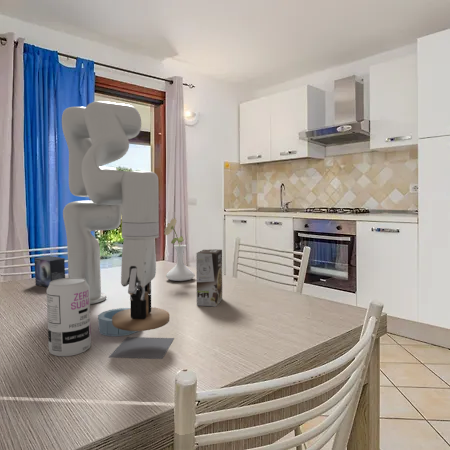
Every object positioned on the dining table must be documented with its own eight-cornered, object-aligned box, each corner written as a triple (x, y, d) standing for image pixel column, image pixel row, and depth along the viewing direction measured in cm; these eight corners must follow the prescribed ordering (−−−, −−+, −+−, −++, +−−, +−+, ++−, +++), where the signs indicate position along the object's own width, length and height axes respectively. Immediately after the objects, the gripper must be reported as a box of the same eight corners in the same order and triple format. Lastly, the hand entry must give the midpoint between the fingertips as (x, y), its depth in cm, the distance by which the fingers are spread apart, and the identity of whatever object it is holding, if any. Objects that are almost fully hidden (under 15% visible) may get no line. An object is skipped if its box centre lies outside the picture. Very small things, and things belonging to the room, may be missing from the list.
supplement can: (57, 344, 83) (54, 277, 82) (95, 342, 83) (93, 276, 82) (42, 359, 75) (39, 286, 74) (84, 358, 75) (82, 284, 74)
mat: (108, 359, 75) (108, 357, 75) (127, 338, 86) (127, 337, 86) (162, 360, 74) (162, 358, 74) (174, 339, 85) (174, 338, 85)
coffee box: (216, 307, 111) (216, 253, 110) (196, 305, 112) (195, 252, 111) (223, 299, 120) (222, 249, 119) (203, 298, 121) (203, 248, 120)
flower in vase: (179, 275, 157) (178, 216, 155) (200, 279, 150) (200, 217, 148) (156, 281, 146) (155, 217, 144) (178, 285, 139) (177, 218, 138)
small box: (34, 285, 141) (32, 257, 140) (50, 282, 146) (49, 255, 146) (50, 288, 135) (49, 260, 134) (66, 285, 140) (65, 257, 140)
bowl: (91, 337, 87) (91, 320, 87) (108, 322, 97) (108, 307, 97) (134, 338, 86) (133, 321, 86) (146, 323, 96) (146, 308, 96)
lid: (103, 329, 75) (102, 300, 74) (123, 310, 87) (123, 285, 86) (161, 332, 74) (161, 302, 73) (174, 312, 86) (174, 286, 85)
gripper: (135, 226, 87) (136, 303, 88) (108, 234, 71) (109, 328, 72) (167, 226, 86) (167, 304, 88) (146, 235, 70) (147, 330, 72)
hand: (141, 314), depth 80 cm, fingers closed on lid, 3 cm apart
